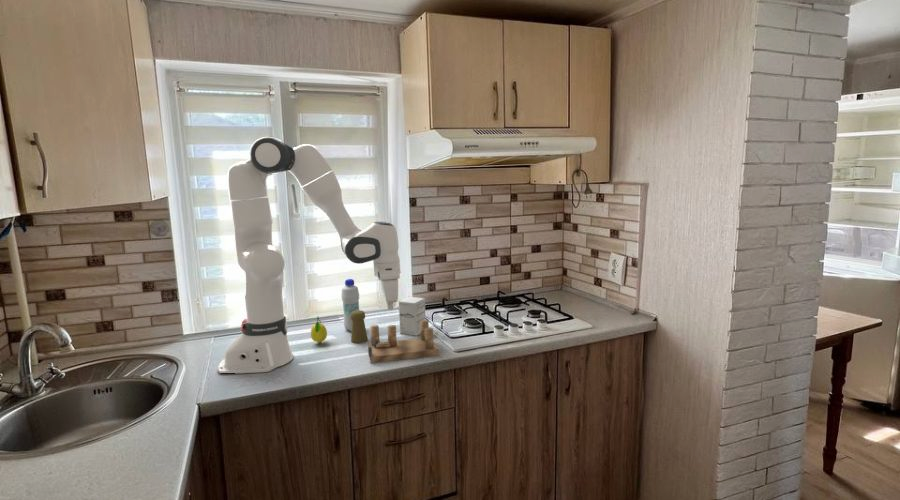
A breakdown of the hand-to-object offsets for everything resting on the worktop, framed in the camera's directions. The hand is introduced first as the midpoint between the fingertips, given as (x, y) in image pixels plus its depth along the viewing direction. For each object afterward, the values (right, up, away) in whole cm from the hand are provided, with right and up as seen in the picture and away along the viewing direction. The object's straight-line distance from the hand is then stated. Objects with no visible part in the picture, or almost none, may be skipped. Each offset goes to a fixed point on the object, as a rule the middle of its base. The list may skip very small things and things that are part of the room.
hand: (390, 308), depth 163 cm
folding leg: (-1, -12, -5) cm, 13 cm away
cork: (-12, -13, +7) cm, 19 cm away
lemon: (-26, -13, +6) cm, 30 cm away
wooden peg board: (+5, -14, -5) cm, 16 cm away
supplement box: (+7, -11, +15) cm, 19 cm away
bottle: (-17, -11, +20) cm, 28 cm away
